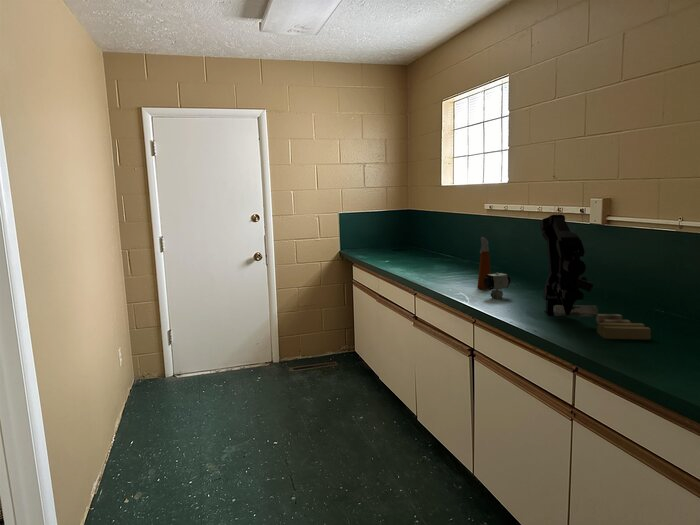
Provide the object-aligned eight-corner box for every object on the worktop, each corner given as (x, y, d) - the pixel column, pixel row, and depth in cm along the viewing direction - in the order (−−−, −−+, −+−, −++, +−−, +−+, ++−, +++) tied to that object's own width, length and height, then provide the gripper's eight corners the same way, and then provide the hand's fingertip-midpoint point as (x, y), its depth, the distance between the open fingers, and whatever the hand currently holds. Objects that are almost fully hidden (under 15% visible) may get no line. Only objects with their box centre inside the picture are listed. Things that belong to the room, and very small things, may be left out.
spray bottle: (472, 290, 237) (473, 237, 233) (479, 286, 246) (480, 235, 242) (486, 291, 233) (487, 237, 229) (493, 287, 242) (494, 235, 238)
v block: (604, 338, 158) (604, 328, 158) (596, 332, 165) (597, 322, 164) (650, 339, 156) (651, 329, 155) (641, 333, 163) (641, 323, 162)
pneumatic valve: (482, 298, 220) (483, 272, 218) (503, 295, 224) (504, 270, 222) (490, 300, 215) (490, 274, 213) (511, 298, 219) (512, 272, 217)
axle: (556, 317, 172) (556, 306, 172) (553, 314, 176) (553, 304, 176) (597, 317, 170) (598, 306, 170) (593, 315, 174) (594, 304, 174)
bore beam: (605, 329, 168) (606, 321, 167) (595, 321, 177) (596, 313, 177) (630, 330, 166) (630, 321, 166) (619, 322, 176) (619, 314, 176)
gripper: (601, 275, 161) (598, 320, 163) (583, 266, 179) (581, 307, 182) (565, 275, 163) (564, 320, 165) (552, 266, 181) (550, 307, 183)
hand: (565, 313), depth 174 cm, fingers closed on axle, 4 cm apart
